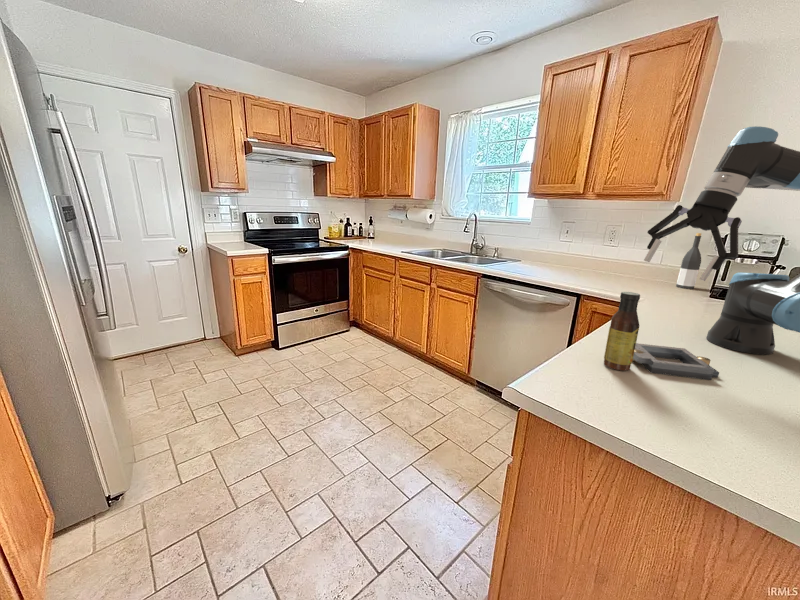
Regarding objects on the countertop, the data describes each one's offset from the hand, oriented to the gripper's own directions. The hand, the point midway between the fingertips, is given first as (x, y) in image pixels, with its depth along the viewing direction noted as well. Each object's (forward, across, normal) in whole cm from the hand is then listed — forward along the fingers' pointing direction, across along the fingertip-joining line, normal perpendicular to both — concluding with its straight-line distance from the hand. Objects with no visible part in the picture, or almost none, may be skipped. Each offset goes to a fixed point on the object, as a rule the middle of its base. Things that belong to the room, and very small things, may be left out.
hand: (672, 270), depth 92 cm
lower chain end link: (+23, +12, -2) cm, 26 cm away
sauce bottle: (+28, +4, -15) cm, 32 cm away
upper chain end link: (+24, +10, -3) cm, 26 cm away
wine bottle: (+4, -21, +126) cm, 128 cm away
